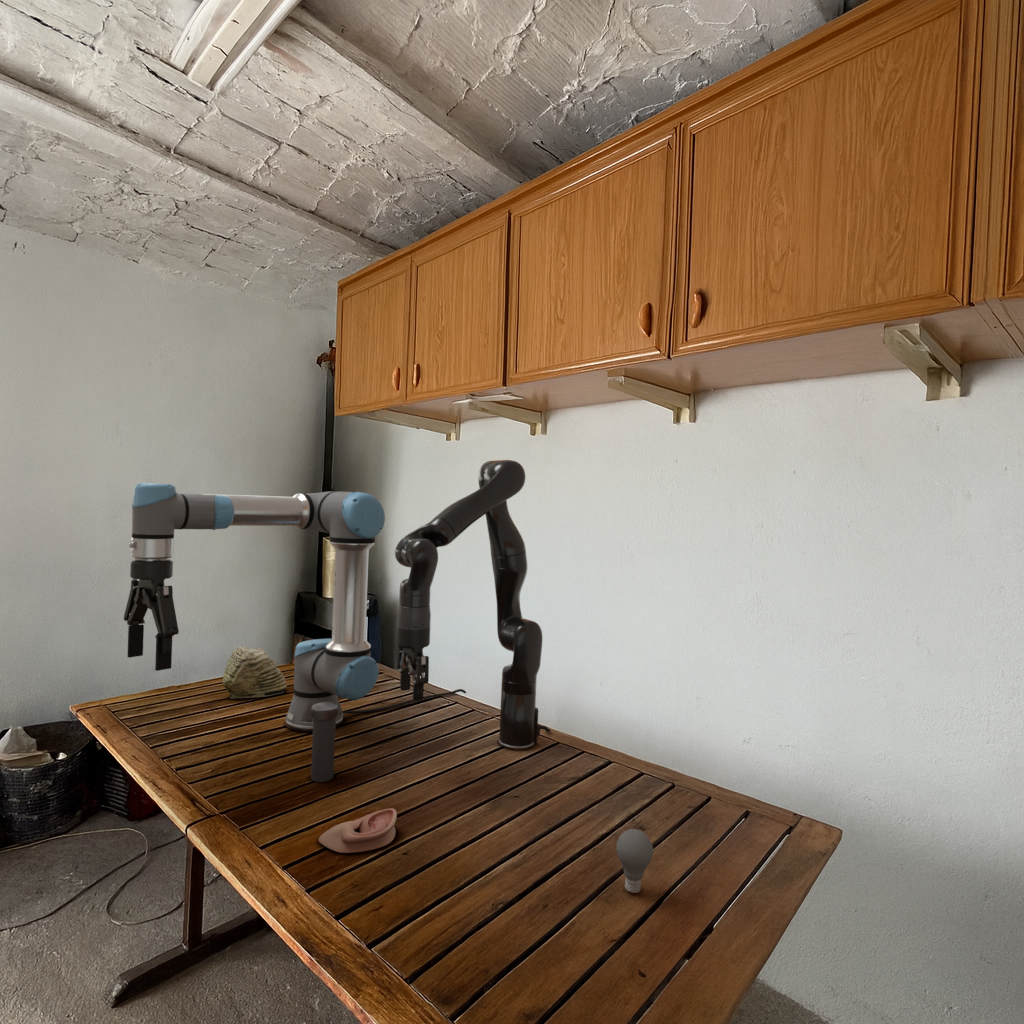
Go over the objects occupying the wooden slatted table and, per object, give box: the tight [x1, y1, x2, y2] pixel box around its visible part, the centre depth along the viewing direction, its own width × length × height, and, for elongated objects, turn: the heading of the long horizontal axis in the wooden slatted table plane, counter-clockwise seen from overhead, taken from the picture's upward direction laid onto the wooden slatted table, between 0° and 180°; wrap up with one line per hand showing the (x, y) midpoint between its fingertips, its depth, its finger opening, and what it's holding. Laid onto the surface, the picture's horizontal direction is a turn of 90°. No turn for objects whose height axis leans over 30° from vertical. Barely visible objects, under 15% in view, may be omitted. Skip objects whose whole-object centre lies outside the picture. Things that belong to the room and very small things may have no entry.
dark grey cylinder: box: [310, 718, 336, 783], centre depth 143 cm, size 5×5×16 cm
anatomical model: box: [318, 807, 398, 854], centre depth 118 cm, size 13×4×12 cm
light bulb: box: [615, 828, 654, 894], centre depth 106 cm, size 6×6×10 cm
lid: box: [311, 702, 339, 720], centre depth 143 cm, size 6×6×2 cm
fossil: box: [222, 646, 288, 699], centre depth 198 cm, size 9×18×15 cm, turn 132°
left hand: (148, 662), depth 129 cm, fingers open, 13 cm apart
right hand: (411, 695), depth 145 cm, fingers open, 8 cm apart
